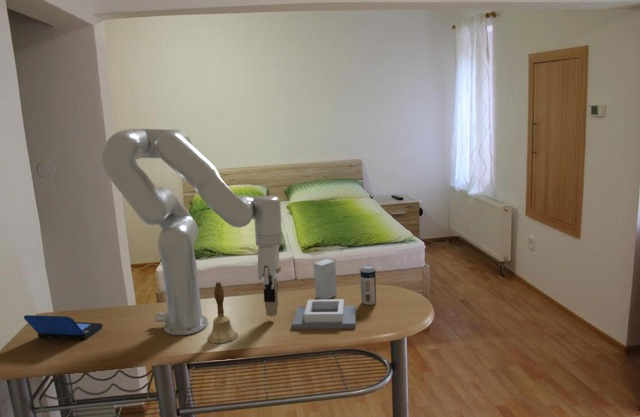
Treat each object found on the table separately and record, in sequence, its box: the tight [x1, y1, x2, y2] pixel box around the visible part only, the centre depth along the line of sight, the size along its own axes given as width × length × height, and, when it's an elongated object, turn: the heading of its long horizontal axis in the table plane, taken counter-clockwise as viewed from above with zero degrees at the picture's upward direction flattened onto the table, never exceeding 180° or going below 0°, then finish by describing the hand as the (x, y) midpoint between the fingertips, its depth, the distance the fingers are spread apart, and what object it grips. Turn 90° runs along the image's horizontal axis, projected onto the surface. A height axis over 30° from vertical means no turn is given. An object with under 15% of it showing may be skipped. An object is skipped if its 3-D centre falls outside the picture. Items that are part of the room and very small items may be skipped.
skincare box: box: [313, 258, 338, 300], centre depth 168 cm, size 6×4×12 cm
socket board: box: [291, 298, 357, 330], centre depth 151 cm, size 18×13×4 cm
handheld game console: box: [23, 314, 103, 341], centre depth 148 cm, size 16×13×9 cm
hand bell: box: [207, 281, 239, 344], centre depth 142 cm, size 8×8×16 cm
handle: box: [264, 264, 282, 318], centre depth 151 cm, size 5×6×15 cm
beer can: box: [359, 264, 377, 306], centre depth 161 cm, size 5×5×12 cm
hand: (271, 297), depth 151 cm, fingers closed on handle, 3 cm apart
